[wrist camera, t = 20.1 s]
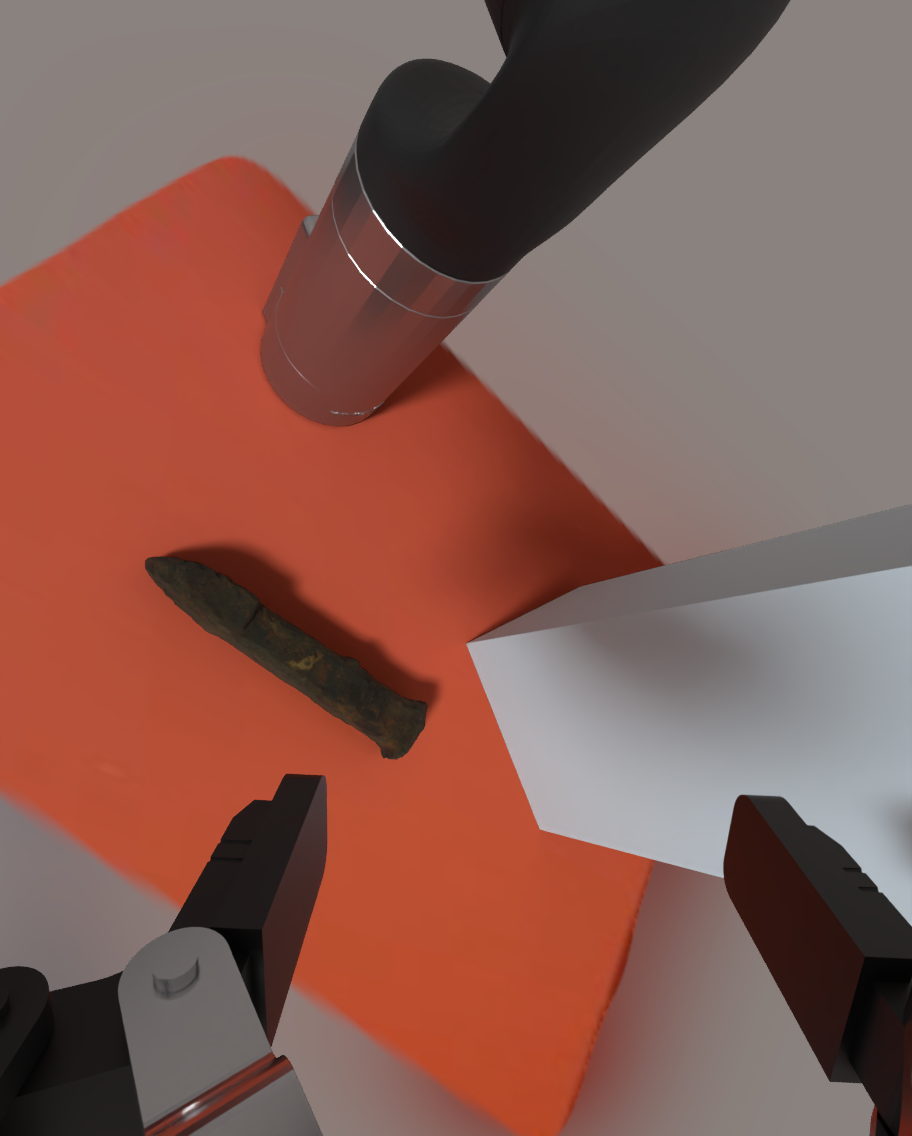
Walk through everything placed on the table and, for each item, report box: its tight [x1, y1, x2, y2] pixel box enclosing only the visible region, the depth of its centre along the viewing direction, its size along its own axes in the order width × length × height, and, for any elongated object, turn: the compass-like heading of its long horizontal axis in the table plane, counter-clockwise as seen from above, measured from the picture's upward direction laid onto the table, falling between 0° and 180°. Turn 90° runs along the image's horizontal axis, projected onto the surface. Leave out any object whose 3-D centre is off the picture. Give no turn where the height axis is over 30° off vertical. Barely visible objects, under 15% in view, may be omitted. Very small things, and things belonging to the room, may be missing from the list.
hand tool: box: [145, 557, 428, 759], centre depth 36 cm, size 19×4×5 cm, turn 57°
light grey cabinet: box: [466, 504, 912, 926], centre depth 35 cm, size 17×13×32 cm
